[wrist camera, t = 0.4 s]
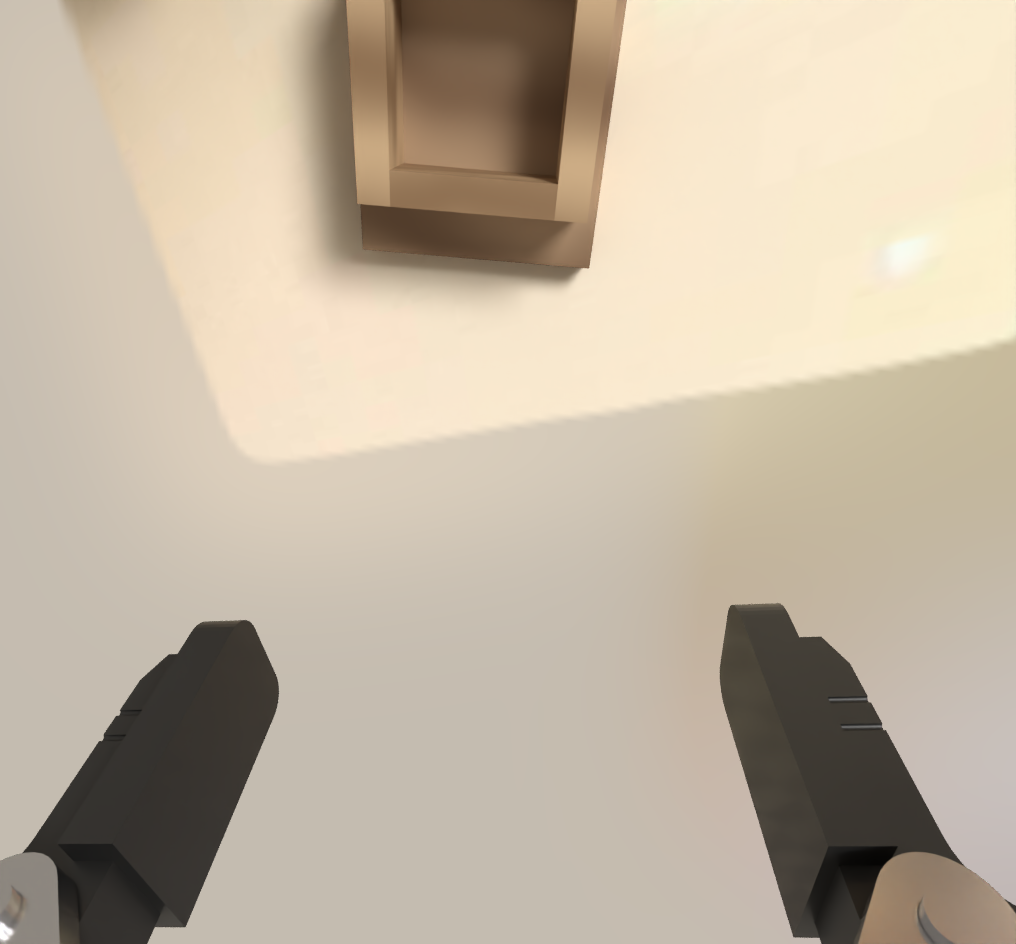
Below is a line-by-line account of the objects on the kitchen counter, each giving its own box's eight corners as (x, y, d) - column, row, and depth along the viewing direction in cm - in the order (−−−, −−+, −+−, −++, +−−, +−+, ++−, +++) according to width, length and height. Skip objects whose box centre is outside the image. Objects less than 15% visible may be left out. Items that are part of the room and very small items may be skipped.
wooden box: (350, -166, 25) (311, -222, 20) (642, -141, 25) (664, -191, 20) (369, 243, 33) (345, 264, 29) (586, 261, 33) (594, 285, 29)
